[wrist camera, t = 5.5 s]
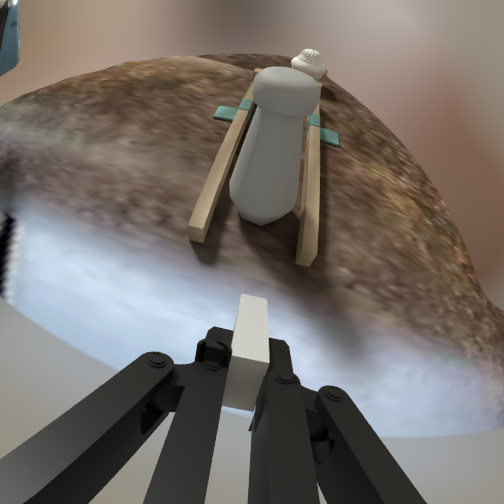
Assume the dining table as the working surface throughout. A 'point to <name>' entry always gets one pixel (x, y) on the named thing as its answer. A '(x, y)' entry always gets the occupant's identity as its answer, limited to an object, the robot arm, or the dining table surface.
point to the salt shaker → (273, 145)
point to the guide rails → (223, 162)
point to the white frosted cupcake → (309, 63)
